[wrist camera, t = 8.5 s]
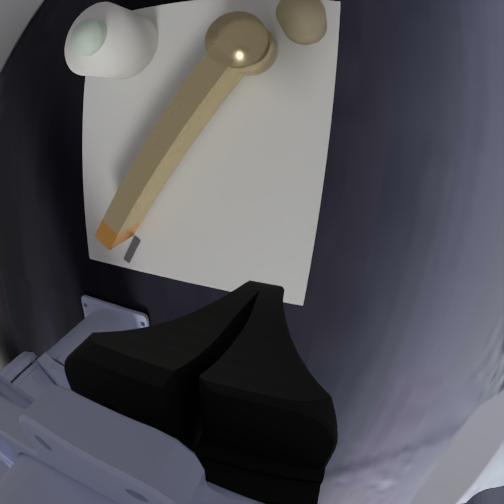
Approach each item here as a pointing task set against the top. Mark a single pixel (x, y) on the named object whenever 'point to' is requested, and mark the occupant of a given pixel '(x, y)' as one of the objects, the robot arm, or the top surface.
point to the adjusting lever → (188, 117)
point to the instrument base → (211, 140)
